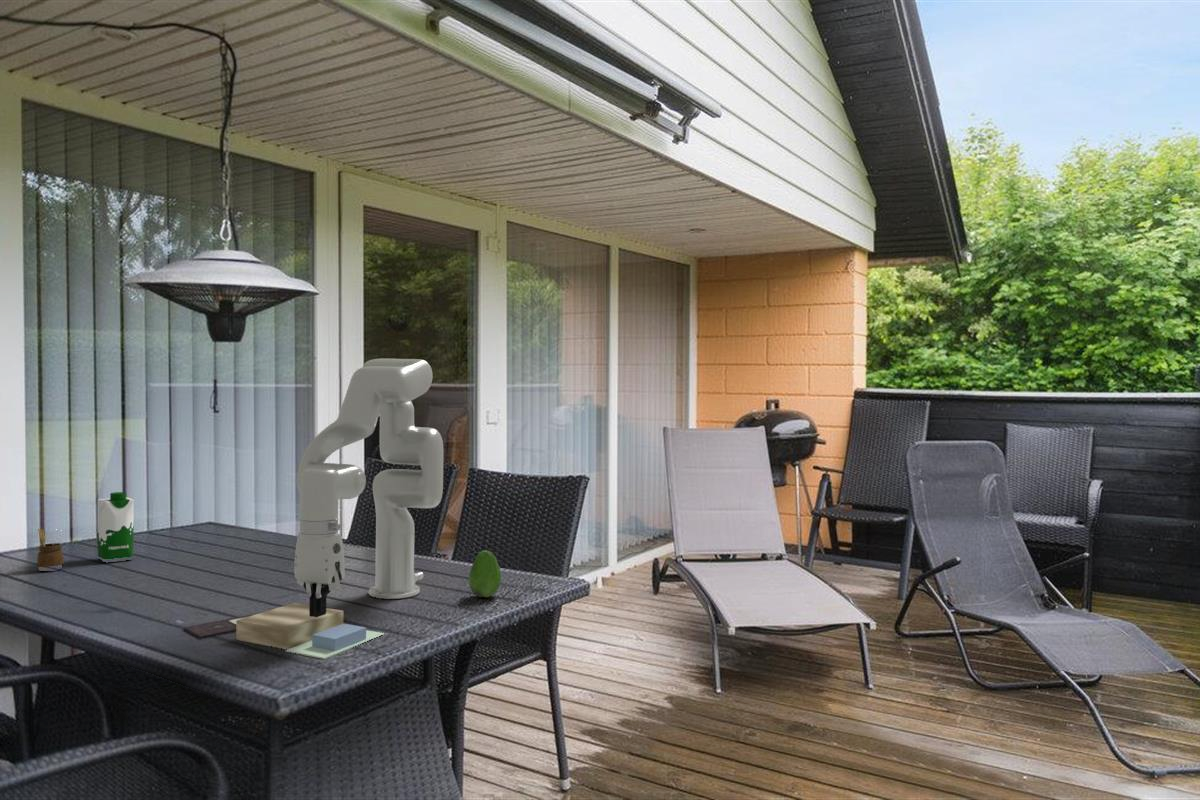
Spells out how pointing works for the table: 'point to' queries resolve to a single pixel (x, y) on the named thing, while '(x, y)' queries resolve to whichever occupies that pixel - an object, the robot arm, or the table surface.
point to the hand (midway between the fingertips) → (317, 615)
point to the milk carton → (115, 526)
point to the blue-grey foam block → (339, 637)
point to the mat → (324, 653)
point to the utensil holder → (49, 552)
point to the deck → (286, 626)
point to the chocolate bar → (215, 627)
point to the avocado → (485, 575)
